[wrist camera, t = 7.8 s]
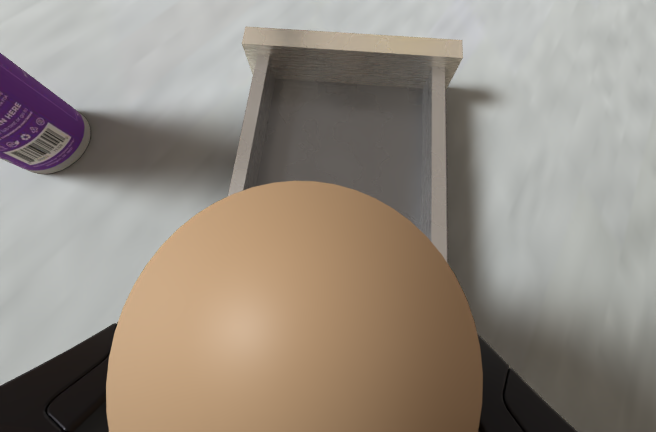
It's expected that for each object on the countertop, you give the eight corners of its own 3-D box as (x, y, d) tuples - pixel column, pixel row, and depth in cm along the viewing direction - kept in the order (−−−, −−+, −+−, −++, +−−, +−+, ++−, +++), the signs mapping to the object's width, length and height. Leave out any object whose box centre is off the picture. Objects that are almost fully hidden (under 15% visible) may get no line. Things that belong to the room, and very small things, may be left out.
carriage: (413, 395, 13) (825, 869, 2) (225, 373, 14) (-248, 673, 3) (416, 261, 15) (654, 138, 4) (248, 245, 15) (23, 91, 4)
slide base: (442, 466, 14) (477, 518, 10) (187, 433, 14) (143, 472, 11) (440, 85, 20) (462, 40, 16) (260, 73, 20) (245, 26, 17)
